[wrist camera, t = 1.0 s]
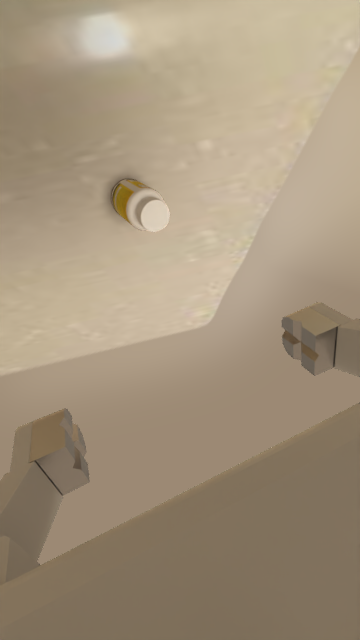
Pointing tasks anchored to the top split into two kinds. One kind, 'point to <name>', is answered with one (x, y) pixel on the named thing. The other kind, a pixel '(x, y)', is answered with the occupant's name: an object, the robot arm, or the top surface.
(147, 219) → the supplement bottle
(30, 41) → the top surface
